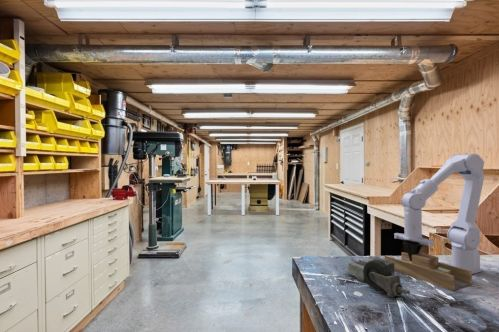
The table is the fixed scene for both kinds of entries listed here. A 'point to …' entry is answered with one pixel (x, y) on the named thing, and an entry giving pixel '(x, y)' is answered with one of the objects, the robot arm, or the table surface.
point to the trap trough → (433, 273)
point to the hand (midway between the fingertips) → (413, 261)
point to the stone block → (358, 268)
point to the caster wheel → (383, 278)
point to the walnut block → (425, 260)
